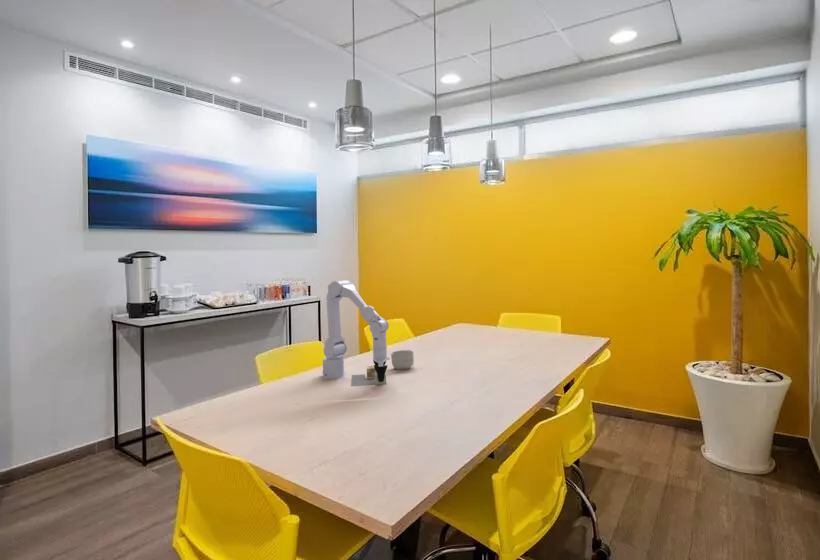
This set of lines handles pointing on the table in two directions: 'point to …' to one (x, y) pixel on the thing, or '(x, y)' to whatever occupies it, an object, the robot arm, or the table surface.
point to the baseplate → (363, 380)
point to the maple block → (370, 371)
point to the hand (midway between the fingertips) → (380, 379)
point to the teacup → (402, 359)
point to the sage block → (378, 381)
